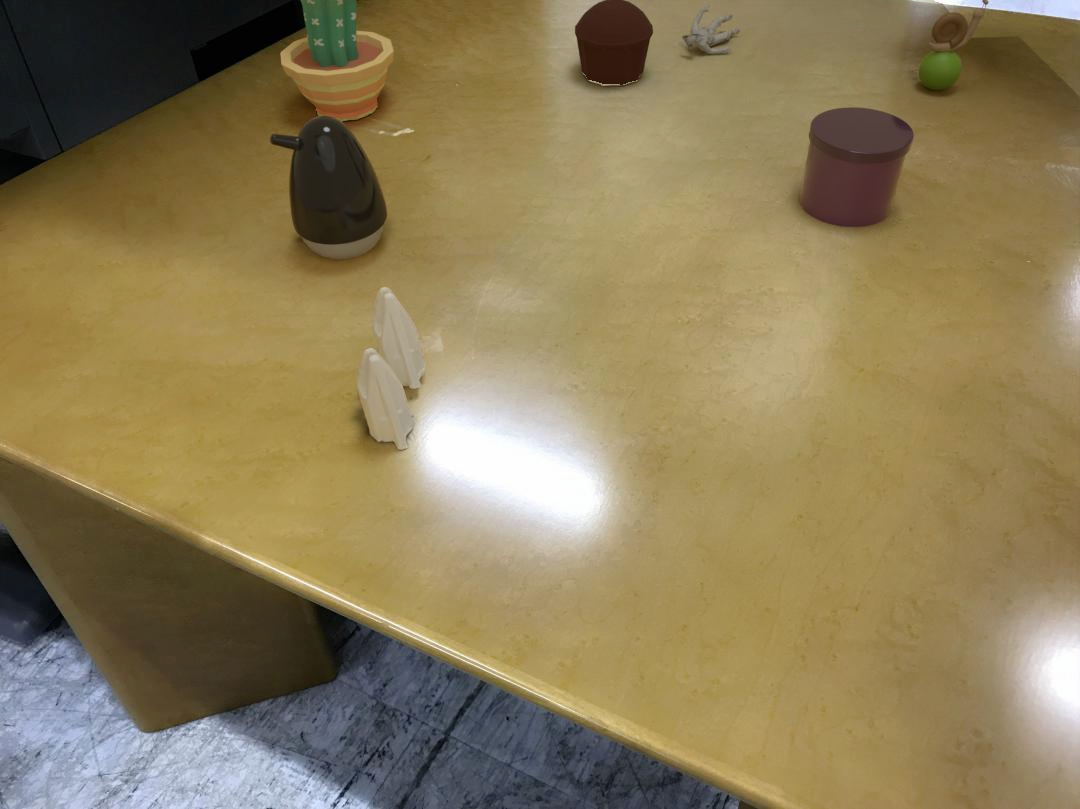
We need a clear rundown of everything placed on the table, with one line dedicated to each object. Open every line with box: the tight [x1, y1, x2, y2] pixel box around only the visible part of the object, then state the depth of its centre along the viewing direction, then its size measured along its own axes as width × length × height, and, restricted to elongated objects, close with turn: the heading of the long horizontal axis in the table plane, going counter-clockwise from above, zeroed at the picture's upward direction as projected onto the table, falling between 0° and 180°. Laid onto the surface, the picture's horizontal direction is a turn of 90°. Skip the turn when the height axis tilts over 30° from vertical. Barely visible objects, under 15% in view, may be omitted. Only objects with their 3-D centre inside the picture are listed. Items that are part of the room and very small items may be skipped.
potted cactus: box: [279, 0, 395, 119], centre depth 118 cm, size 15×15×25 cm
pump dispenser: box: [269, 116, 388, 261], centre depth 96 cm, size 10×10×15 cm
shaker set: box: [356, 286, 426, 451], centre depth 78 cm, size 12×4×11 cm, turn 175°
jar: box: [798, 106, 915, 228], centre depth 99 cm, size 11×11×11 cm
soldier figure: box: [681, 4, 741, 55], centre depth 138 cm, size 8×5×12 cm
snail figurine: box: [918, 0, 989, 91], centre depth 122 cm, size 5×6×12 cm
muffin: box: [574, 0, 654, 85], centre depth 129 cm, size 12×11×10 cm
